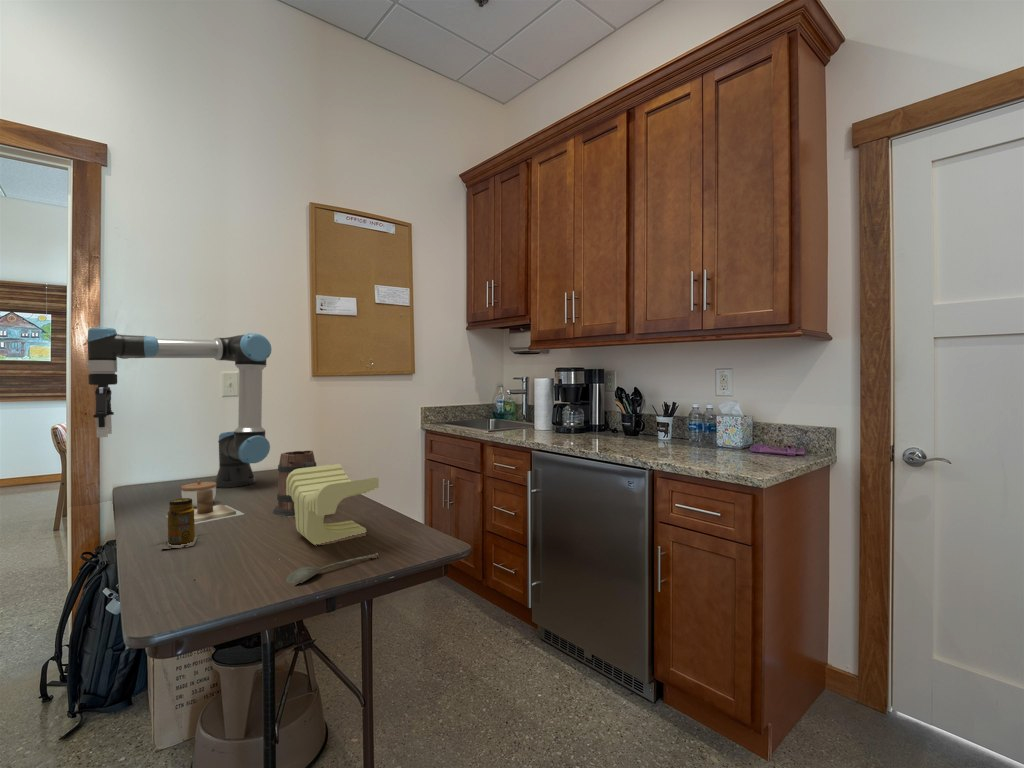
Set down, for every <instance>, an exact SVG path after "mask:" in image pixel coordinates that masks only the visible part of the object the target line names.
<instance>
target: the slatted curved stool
mask: <svg viewBox="0 0 1024 768" xmlns="http://www.w3.org/2000/svg"><path fill="white" fill-rule="evenodd" d="M379 487H380V485H379V477H372V478H366V479H365V478H364V479H359V480H358V479H357V480H351V479H350V478H349V476H348V475H347V474H346V472H345V470H344V469H343V466H342V465H341V463H336V464H335V463H334V464H325V465H316V467H307V468H299V469H295V470H293V471H292V472H291V473H290V474H289V475H288V477H287V480H286V495H290V496H291V498H292V500H293V502H294V509H295V517H294V518H295V527H296V531H297V532H298V533H299V534H300V535H301V536H303V537H304V538H306V540H308V542H310V543H311V544H313V545H314V546H317V545H316V544H321V543H325V542H329V541H334V540H338V539H341V538H345V537H348V536H352V535H357V534H361V533H365V532H367V528H366V527H364V526H362V525H360V524H359V523H358V522H355V521H354V520H345V521H339V522H332V523H331V522H329V523H324V521H325V520H324V519H325V516H326V515H327V516H328V515H333V514H334V515H335V514H336V512H337V508H338V506H339V504H340V503H341V502H342V501H343V500H344V499H346V498H349V497H354V496H359V495H362V494H363V495H364V494H367V493H369V492H371V491H373V490H376V489H379Z"/></svg>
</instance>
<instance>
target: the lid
mask: <svg viewBox="0 0 1024 768" xmlns="http://www.w3.org/2000/svg"><path fill="white" fill-rule="evenodd" d="M235 510H236V509H235ZM235 510H232V509H230V508H228V507H226V506H225V505H224V504H217V505H214V500H213V490H212V489H206V490H200V491H197V507H196V508H194V522H199V521H204V520H209V519H214V518H220V517H225V516H230V515H235V514H236V511H235Z"/></svg>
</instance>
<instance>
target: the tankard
mask: <svg viewBox="0 0 1024 768" xmlns="http://www.w3.org/2000/svg"><path fill="white" fill-rule="evenodd" d="M314 454H315V453H314V451H313V450H295V451H287V452H283V453H282V452H281V453H280V456H279V463H278V465H277V471H278V481H277V482H278V485H277V487H278V488H277V489H278V490H277V492H278V493H277V495H276V500H277V505H276V506H275V507H274V508H273V510H272V514H274V515H277V516H294V515H295V509H294V502H293V500H292V498H291V496H290V495H286V480H287V477H288V475H289V474H290V473H291V472H292V471H293V470H295V469H299V468H307V467H316V466H317V462H316V460H315V459H316V458H315V455H314Z"/></svg>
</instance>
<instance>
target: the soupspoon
mask: <svg viewBox="0 0 1024 768" xmlns="http://www.w3.org/2000/svg"><path fill="white" fill-rule="evenodd" d="M375 555H378V556H379V553H378V552H375V554H369V555H365V556H360V557H355V558H350V559H345V560H343V561H338V562H334V563H331V564H327V565H325V566H322V567H316V566H303V567H300V568H297V569H296V570H294V571H292V572H290V574H289V575H287V577H286V578H285V579H286V582H288V583H294V584H296V583H301V584H303V583H304V582H305V581H308V580H309V579H311V578H312V577H314V576H315V575H317V574H318V573H320V572H321V571H323V570H326V569H328V568H331V567H335V566H338V565H343V564H346V563H351V562H355V561H359V560H364V558H367V559H368V557H372V556H375Z"/></svg>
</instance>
